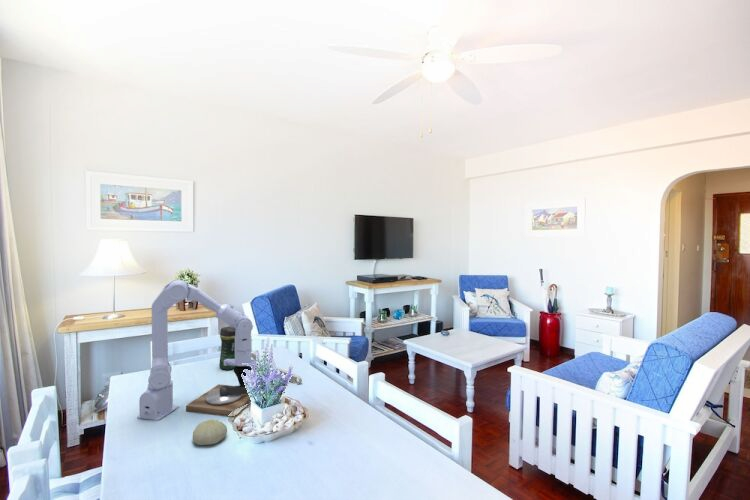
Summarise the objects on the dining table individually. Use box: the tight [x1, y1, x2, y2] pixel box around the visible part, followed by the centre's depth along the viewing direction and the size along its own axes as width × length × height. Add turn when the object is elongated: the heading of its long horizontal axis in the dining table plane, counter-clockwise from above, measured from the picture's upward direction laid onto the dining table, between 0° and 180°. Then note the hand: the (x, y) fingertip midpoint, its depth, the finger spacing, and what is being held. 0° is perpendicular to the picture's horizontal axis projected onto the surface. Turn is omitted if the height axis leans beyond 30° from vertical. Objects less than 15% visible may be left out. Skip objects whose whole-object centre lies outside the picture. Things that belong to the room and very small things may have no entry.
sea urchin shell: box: [192, 419, 228, 446], centre depth 106 cm, size 9×8×8 cm
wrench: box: [251, 351, 303, 385], centre depth 153 cm, size 8×2×30 cm
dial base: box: [185, 383, 251, 417], centre depth 129 cm, size 18×18×2 cm
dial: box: [206, 385, 248, 405], centre depth 128 cm, size 14×12×4 cm
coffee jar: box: [219, 325, 236, 371], centre depth 163 cm, size 10×8×19 cm
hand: (242, 385), depth 134 cm, fingers closed
